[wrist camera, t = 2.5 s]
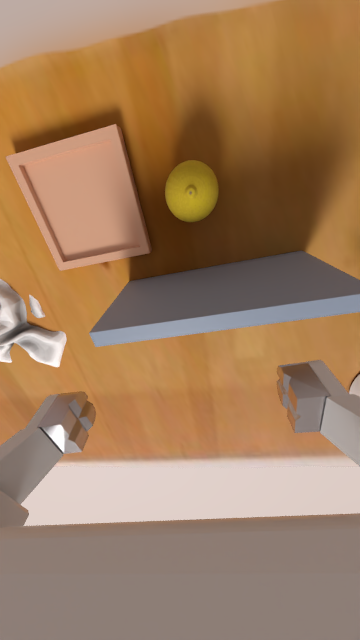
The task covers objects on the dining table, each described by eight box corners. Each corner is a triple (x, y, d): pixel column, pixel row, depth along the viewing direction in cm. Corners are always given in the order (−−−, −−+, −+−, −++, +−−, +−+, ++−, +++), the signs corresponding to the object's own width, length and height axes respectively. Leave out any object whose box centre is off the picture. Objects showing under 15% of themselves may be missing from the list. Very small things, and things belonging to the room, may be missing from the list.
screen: (301, 250, 28) (380, 291, 16) (299, 286, 31) (366, 344, 19) (129, 281, 32) (89, 333, 20) (139, 310, 34) (108, 373, 22)
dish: (120, 128, 23) (115, 123, 22) (152, 250, 30) (149, 253, 28) (17, 159, 25) (5, 156, 24) (66, 267, 32) (59, 270, 30)
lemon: (167, 167, 25) (156, 156, 18) (215, 163, 24) (224, 150, 18) (171, 220, 28) (162, 228, 21) (215, 217, 27) (221, 224, 20)
